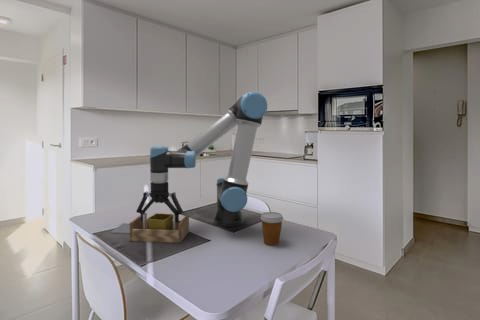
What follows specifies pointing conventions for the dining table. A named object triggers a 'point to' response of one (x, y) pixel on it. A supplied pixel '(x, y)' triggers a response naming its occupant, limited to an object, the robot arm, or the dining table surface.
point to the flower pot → (160, 221)
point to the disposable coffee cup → (271, 227)
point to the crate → (158, 232)
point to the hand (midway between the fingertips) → (159, 228)
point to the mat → (122, 229)
